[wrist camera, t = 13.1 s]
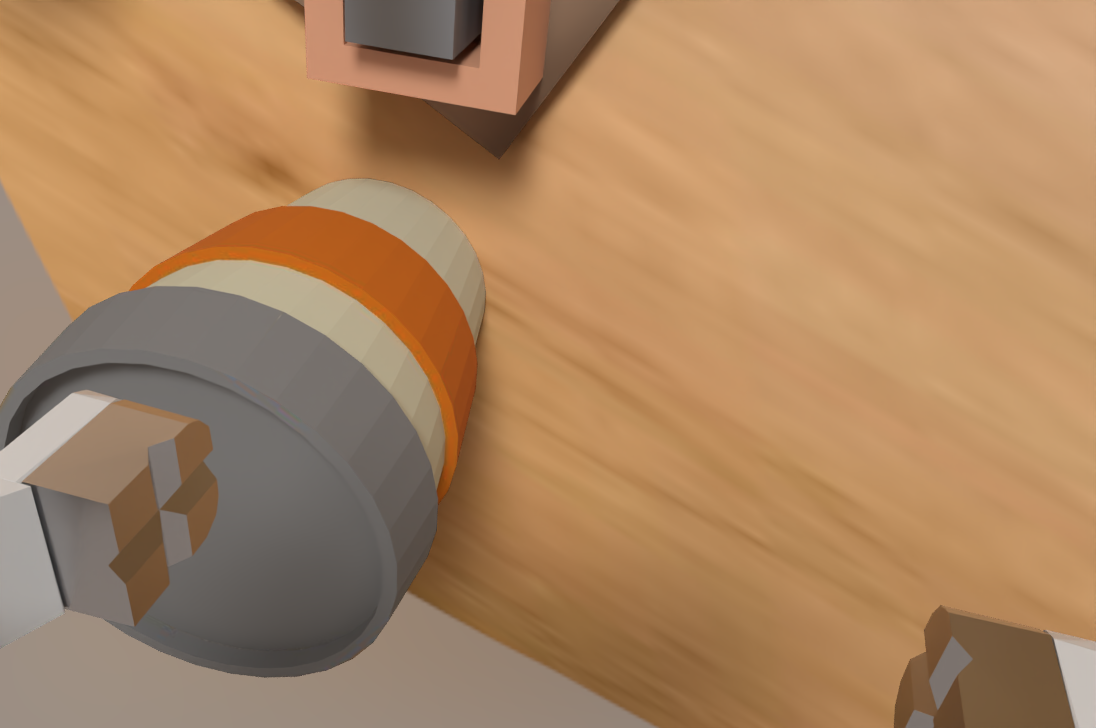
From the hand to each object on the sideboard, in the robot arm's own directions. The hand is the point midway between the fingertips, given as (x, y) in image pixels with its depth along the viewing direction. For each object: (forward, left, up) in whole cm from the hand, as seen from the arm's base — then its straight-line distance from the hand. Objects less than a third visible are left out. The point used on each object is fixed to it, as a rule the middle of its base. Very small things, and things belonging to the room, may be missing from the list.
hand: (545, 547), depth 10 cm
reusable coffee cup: (+3, +16, -25) cm, 29 cm away
